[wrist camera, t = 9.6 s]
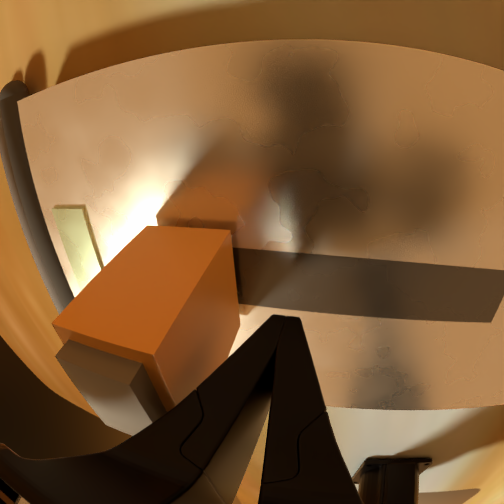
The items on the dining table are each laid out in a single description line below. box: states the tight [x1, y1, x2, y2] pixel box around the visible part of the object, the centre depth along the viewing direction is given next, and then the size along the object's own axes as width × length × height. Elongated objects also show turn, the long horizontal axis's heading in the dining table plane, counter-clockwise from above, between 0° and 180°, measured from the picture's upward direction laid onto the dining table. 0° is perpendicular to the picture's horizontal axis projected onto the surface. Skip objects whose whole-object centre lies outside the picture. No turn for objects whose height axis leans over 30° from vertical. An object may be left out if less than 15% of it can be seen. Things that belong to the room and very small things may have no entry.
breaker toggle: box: [52, 225, 241, 436], centre depth 9 cm, size 4×3×6 cm
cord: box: [0, 80, 75, 315], centre depth 15 cm, size 18×3×2 cm, turn 4°
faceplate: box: [17, 39, 504, 410], centre depth 11 cm, size 15×24×2 cm, turn 94°
